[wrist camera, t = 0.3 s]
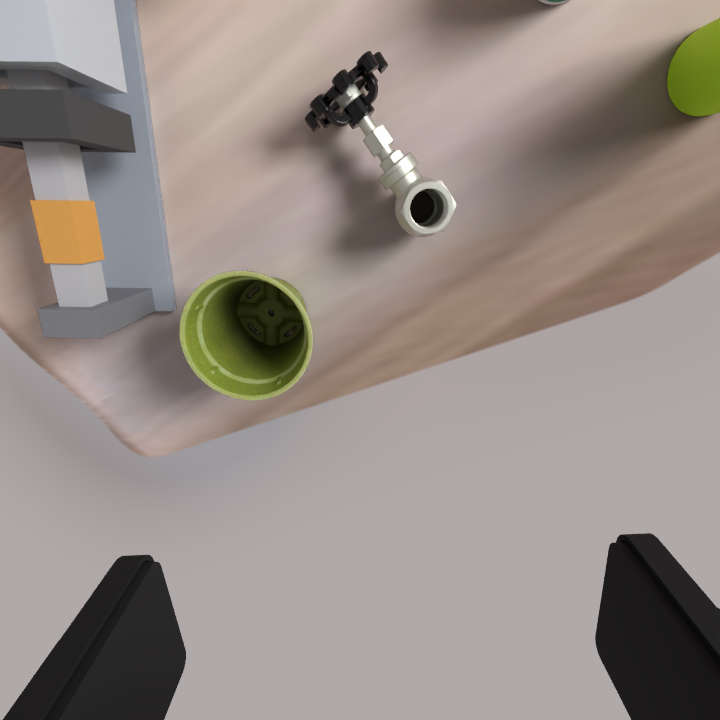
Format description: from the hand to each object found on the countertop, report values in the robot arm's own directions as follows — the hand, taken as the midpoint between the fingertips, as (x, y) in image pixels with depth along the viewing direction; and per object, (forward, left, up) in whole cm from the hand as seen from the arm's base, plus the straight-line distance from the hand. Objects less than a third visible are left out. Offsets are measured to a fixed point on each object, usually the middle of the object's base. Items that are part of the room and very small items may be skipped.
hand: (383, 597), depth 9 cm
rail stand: (-11, -21, -31) cm, 39 cm away
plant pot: (+1, -9, -31) cm, 32 cm away
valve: (-11, +1, -31) cm, 33 cm away
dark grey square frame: (-12, -21, -27) cm, 37 cm away
